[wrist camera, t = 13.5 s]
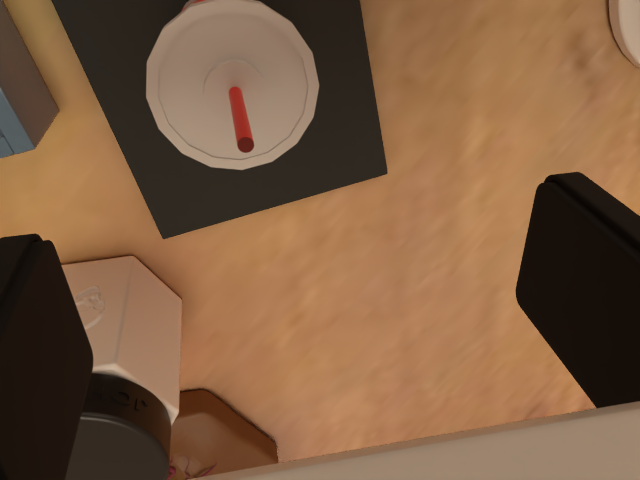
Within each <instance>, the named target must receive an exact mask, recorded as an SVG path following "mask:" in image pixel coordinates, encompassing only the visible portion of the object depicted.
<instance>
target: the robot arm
mask: <svg viewBox="0 0 640 480" xmlns="http://www.w3.org/2000/svg"><path fill="white" fill-rule="evenodd" d="M609 17H610V22H611V26H612V30H613V34H614V38H615V40H616V42H617V43H618V45H619V47H620V49H621V51H622V53H623V54H624V55H625V56H626V57H627V58H628V59H629V60H630V61H631V63H632V64H634V65H635V66H637V67H639V68H640V0H609ZM516 298H517V301H518V304H519V306H520V307H521V309H522V310H523V311H524V312H525V314H526V315H527V316H528V318H529V319H530V320H531V322H532V323H533V324H534V326H535V327H536V328H537V330H538V331H539V332H540V334H541V335H542V336H543V338H544V339H545V340H546V342H547V343H548V344H549V346H550V347H551V348H552V349H553V351H554V352H555V353H556V355H557V356H558V357H559V359H560V360H561V361H562V363H563V364H564V365H565V367H566V368H567V369H568V371H569V372H570V373H571V375H572V376H573V377H574V379H575V380H576V381H577V383H578V384H579V385H580V386H581V388H582V389H583V390H584V392H585V393H586V394H587V396H588V397H589V398H590V400H591V401H592V402H593V404H594V405H595V406H596V409H590V410H584V411H578V412H572V413H566V414H560V415H554V416H548V417H542V418H536V419H530V420H524V421H518V422H512V423H506V424H500V425H495V426H489V427H483V428H477V429H471V430H466V431H460V432H454V433H448V434H442V435H437V436H431V437H425V438H419V439H413V440H408V441H402V442H396V443H390V444H385V445H379V446H373V447H368V448H362V449H356V450H350V451H345V452H339V453H333V454H327V455H322V456H316V457H310V458H305V459H299V460H293V461H288V462H282V463H277V464H271V465H266V466H260V467H254V468H249V469H243V470H238V471H232V472H226V473H221V474H215V475H210V476H204V477H198V478H193V479H187V480H640V216H639V215H637V214H636V213H635V212H633V211H632V210H631V209H629V208H628V207H627V206H625V205H624V204H623V203H621V202H620V201H619V200H617V199H616V198H614V197H613V196H612V195H610V194H609V193H608V192H606V191H605V190H604V189H602V188H601V187H600V186H598V185H597V184H596V183H594V182H593V181H592V180H590V179H589V178H588V177H586V176H585V175H583V174H582V173H580V172H573V173H564V174H555V175H550V176H548V177H547V178H546V179H545V181H544V183H541V184H540V185H539V186H538V187H537V190H536V194H535V199H534V204H533V208H532V213H531V218H530V223H529V228H528V233H527V237H526V242H525V247H524V252H523V257H522V262H521V266H520V271H519V276H518V281H517V286H516ZM92 370H93V351H92V348H91V345H90V342H89V339H88V337H87V334H86V331H85V329H84V326H83V323H82V320H81V318H80V315H79V312H78V309H77V307H76V304H75V301H74V298H73V296H72V293H71V290H70V287H69V285H68V282H67V279H66V276H65V274H64V271H63V268H62V266H61V263H60V260H59V257H58V255H57V252H56V249H55V247H54V245H53V243H52V242H51V241H50V240H46V241H43V240H42V239H41V237H40V236H39V235H37V234H28V235H19V236H11V237H3V238H0V480H65V477H66V473H67V469H68V465H69V461H70V457H71V453H72V449H73V445H74V441H75V438H76V434H77V430H78V426H79V422H80V418H81V414H82V410H83V406H84V402H85V398H86V394H87V390H88V386H89V382H90V378H91V374H92Z"/></svg>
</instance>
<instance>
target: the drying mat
mask: <svg viewBox="0 0 640 480" xmlns="http://www.w3.org/2000/svg"><path fill="white" fill-rule="evenodd" d="M188 1H189V0H52V3H53V5H54V7H55V9H56V11H57V13H58V15H59V18H60V20H61V22H62V24H63V26H64V28H65V30H66V32H67V35H68V37H69V39H70V41H71V43H72V45H73V47H74V50H75V52H76V54H77V56H78V58H79V60H80V62H81V65H82V67H83V69H84V71H85V73H86V75H87V77H88V80H89V82H90V84H91V86H92V88H93V90H94V92H95V94H96V97H97V99H98V101H99V103H100V105H101V107H102V109H103V112H104V114H105V116H106V118H107V120H108V122H109V124H110V127H111V129H112V131H113V133H114V135H115V137H116V139H117V142H118V144H119V146H120V148H121V150H122V152H123V154H124V156H125V159H126V161H127V163H128V165H129V167H130V169H131V171H132V174H133V176H134V178H135V180H136V182H137V184H138V186H139V189H140V191H141V193H142V195H143V197H144V199H145V201H146V204H147V206H148V208H149V210H150V212H151V214H152V216H153V218H154V221H155V223H156V225H157V227H158V229H159V231H160V233H161V236H162V238H163V239H166V238H169V237H173V236H176V235H180V234H183V233H186V232H190V231H193V230H197V229H200V228H204V227H207V226H210V225H214V224H217V223H221V222H224V221H228V220H231V219H234V218H238V217H241V216H245V215H248V214H252V213H255V212H258V211H262V210H265V209H269V208H272V207H276V206H279V205H282V204H286V203H289V202H293V201H296V200H299V199H303V198H306V197H310V196H313V195H317V194H320V193H323V192H327V191H330V190H334V189H337V188H341V187H344V186H347V185H351V184H354V183H358V182H361V181H365V180H368V179H371V178H375V177H378V176H382V175H385V174H387V166H386V160H385V154H384V148H383V142H382V136H381V130H380V123H379V117H378V111H377V105H376V99H375V93H374V87H373V80H372V74H371V68H370V62H369V56H368V50H367V44H366V37H365V31H364V25H363V19H362V13H361V7H360V1H359V0H255V1H260V2H262V3H263V4H265V5H266V6H268V7H269V8H271V9H272V10H274V11H275V12H277V13H278V14H280V15H282V16H283V17H285V18H286V19H288V20H289V21H290V22H292V24H293V25H294V26H295V28H296V29H297V31H298V32H299V34H300V35H301V37H302V38H303V40H304V41H305V43H306V44H307V46H308V47H309V49H310V50H311V51H312V53H313V58H314V63H315V67H316V72H317V77H318V82H319V90H318V96H317V101H316V107H315V112H314V117H313V119H312V120H311V122H310V124H309V125H308V127H307V128H306V130H305V132H304V133H303V135H302V136H301V138H300V140H299V141H298V143H297V144H296V145H294V146H293V147H292V148H290V149H289V150H287V151H286V152H285V153H283V154H282V155H281V156H279V157H278V158H277V159H275V160H274V161H273V162H269V163H266V164H262V165H258V166H255V167H251V168H248V169H244V170H238V169H226V168H215V167H210V166H208V165H206V164H203V163H201V162H199V161H197V160H195V159H193V158H191V157H189V156H187V155H185V154H182V153H181V152H180V151H179V150H178V149H177V148H176V147H175V146H174V144H173V143H172V142H171V141H170V140H169V139H168V138H167V137H166V136H165V135H164V134H163V133H162V132H161V131H160V130H159V128H158V126H157V123H156V121H155V118H154V116H153V113H152V111H151V108H150V106H149V103H148V101H147V98H146V78H147V60H148V58H149V56H150V54H151V52H152V50H153V48H154V46H155V44H156V41H157V39H158V37H159V35H160V33H161V31H162V29H163V27H164V26H165V25H166V24H167V23H169V22H170V21H171V20H172V19H173V18H175V17H176V16H177V15H178V14H180V13H181V11H182V9H183V7H184V6H185V4H186V3H187V2H188Z"/></svg>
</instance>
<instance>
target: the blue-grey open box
mask: <svg viewBox="0 0 640 480" xmlns="http://www.w3.org/2000/svg"><path fill="white" fill-rule="evenodd" d="M58 113H59V110H58V108H57V106H56V104H55V102H54V100H53V98H52V96H51V94H50V92H49V90H48V88H47V86H46V84H45V83H44V81H43V79H42V77H41V75H40V73H39V71H38V69H37V67H36V65H35V63H34V61H33V59H32V57H31V55H30V54H29V52H28V50H27V48H26V46H25V44H24V42H23V40H22V38H21V36H20V34H19V32H18V30H17V28H16V26H15V24H14V23H13V21H12V19H11V17H10V15H9V13H8V11H7V9H6V7H5V5H4V3H3V1H2V0H0V159H1V158H4V157H8V156H11V155H14V154H19V153H23V152H26V151H30V150H33V149H35V148H36V147H37V145H38V144H39V142H40V140H41V139H42V137H43V136H44V134H45V133H46V131H47V130H48V128H49V126H50V125H51V123H52V122H53V120H54V119H55V117H56V116H57V114H58Z"/></svg>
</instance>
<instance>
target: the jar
mask: <svg viewBox="0 0 640 480" xmlns="http://www.w3.org/2000/svg"><path fill="white" fill-rule="evenodd" d="M61 266H62V268H63V271H64V274H65V276H66V279H67V282H68V285H69V287H70V290H71V293H72V296H73V298H74V301H75V304H76V307H77V309H78V312H79V315H80V318H81V320H82V323H83V326H84V329H85V331H86V334H87V337H88V339H89V342H90V345H91V348H92V351H93V370H92V374H91V378H90V382H89V386H88V390H87V394H86V398H85V402H84V406H83V410H82V414H81V418H80V422H79V426H78V430H77V434H76V438H75V441H74V445H73V449H72V453H71V457H70V461H69V465H68V469H67V473H66V477H65V480H167V477H168V474H169V466H170V444H171V426H172V425H173V423H174V421H175V419H176V417H177V415H178V413H179V398H180V364H181V331H182V299H181V298H180V297H178V296H177V295H176V294H175V293H174V292H173V291H172V290H171V289H170V288H169V287H167V286H166V285H165V284H164V283H163V282H162V281H161V280H160V279H159V278H157V277H156V276H155V275H154V274H153V273H152V272H151V271H150V270H149V269H148V268H146V267H145V266H144V265H143V264H142V263H141V262H140V261H139V260H138V259H137V258H135V257H134V256H125V257H118V258H111V259H103V260H96V261H89V262H81V263H74V264H66V265H61Z"/></svg>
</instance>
